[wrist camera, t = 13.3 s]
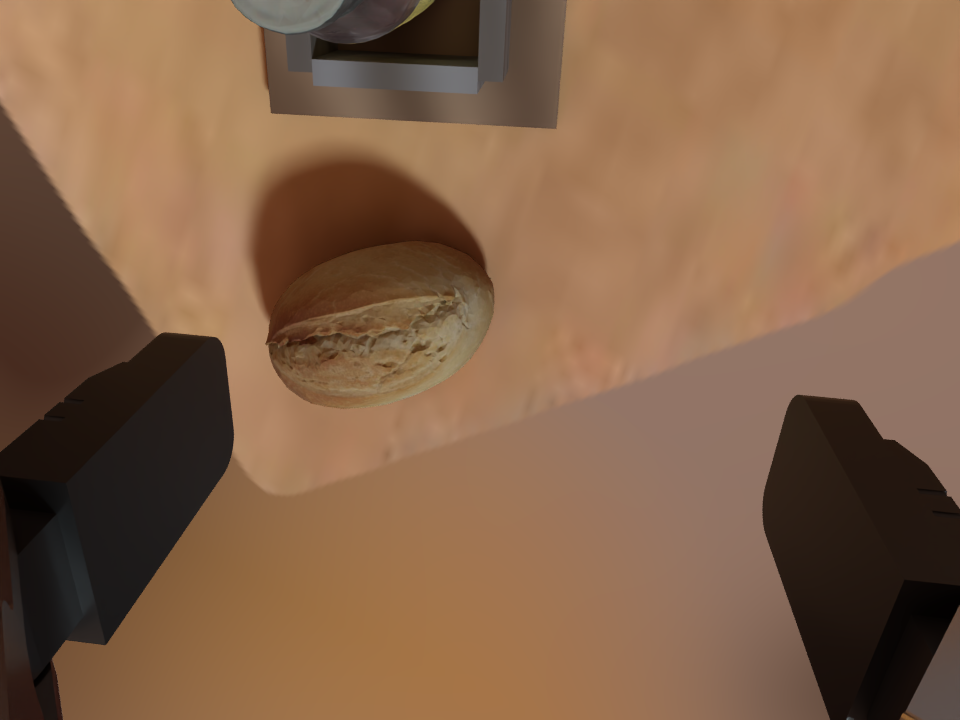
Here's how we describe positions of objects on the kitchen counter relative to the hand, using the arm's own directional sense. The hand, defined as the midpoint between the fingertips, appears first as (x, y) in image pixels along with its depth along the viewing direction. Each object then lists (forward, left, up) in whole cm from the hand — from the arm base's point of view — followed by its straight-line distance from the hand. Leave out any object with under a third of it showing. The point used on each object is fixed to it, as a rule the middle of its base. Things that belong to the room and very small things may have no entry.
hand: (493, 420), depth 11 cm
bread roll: (+9, +14, -36) cm, 39 cm away
